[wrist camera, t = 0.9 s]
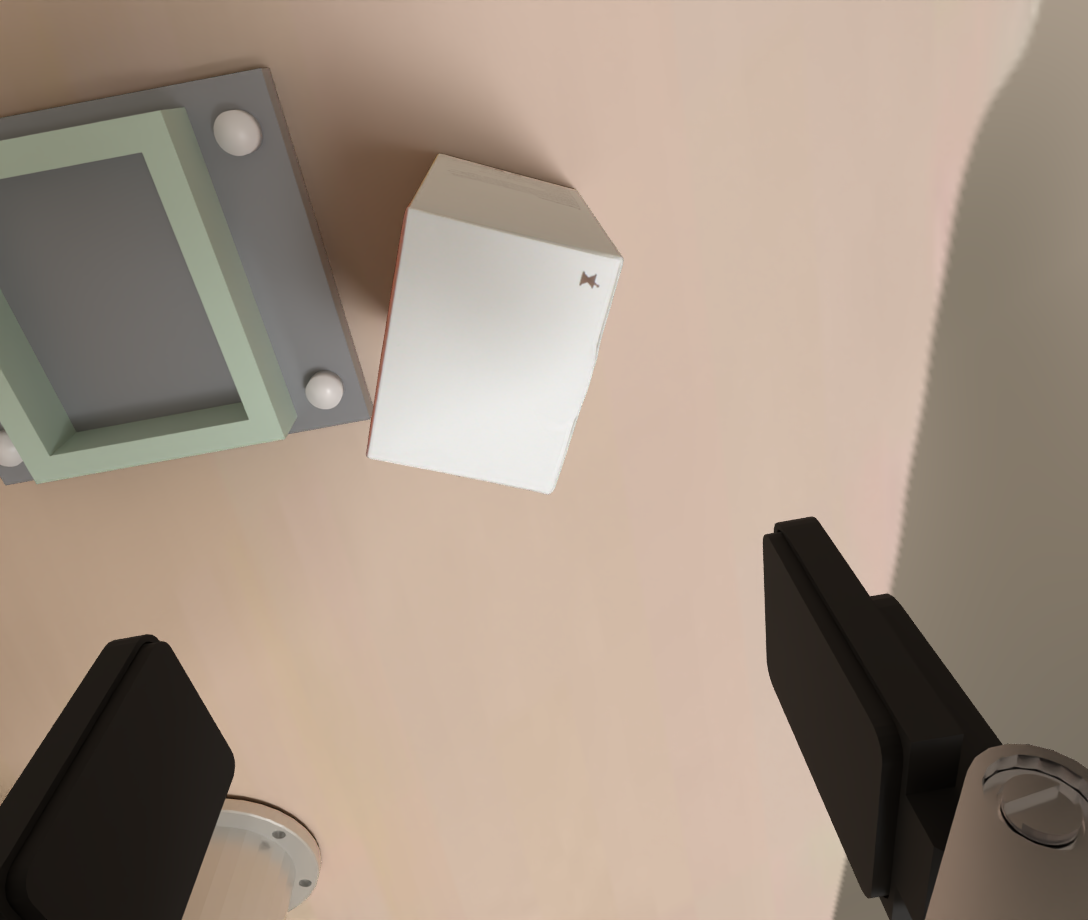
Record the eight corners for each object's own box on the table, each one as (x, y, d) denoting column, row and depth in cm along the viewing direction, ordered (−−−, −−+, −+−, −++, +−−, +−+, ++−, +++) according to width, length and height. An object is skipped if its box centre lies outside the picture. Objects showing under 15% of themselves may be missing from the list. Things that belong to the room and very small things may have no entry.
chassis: (373, 408, 36) (362, 441, 33) (19, 473, 36) (-26, 511, 33) (269, 68, 29) (242, 68, 26) (-171, 152, 29) (-251, 162, 26)
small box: (435, 150, 31) (404, 199, 19) (580, 188, 32) (632, 256, 20) (404, 331, 34) (362, 463, 23) (535, 359, 35) (557, 499, 24)
